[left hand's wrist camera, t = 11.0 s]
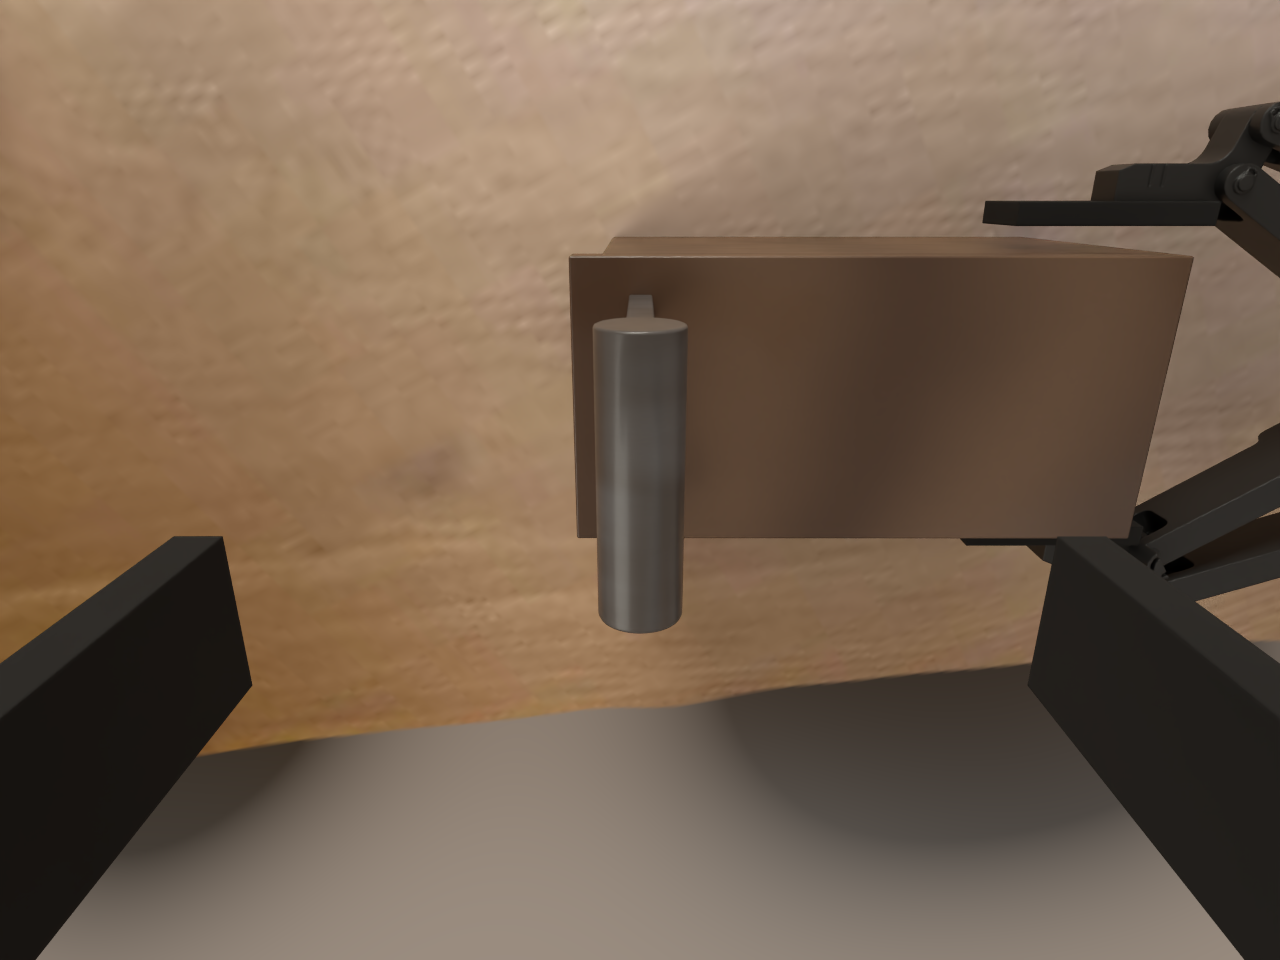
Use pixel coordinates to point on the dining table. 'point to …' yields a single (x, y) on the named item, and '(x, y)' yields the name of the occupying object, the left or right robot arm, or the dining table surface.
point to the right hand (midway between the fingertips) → (975, 378)
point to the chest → (854, 245)
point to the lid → (857, 401)
